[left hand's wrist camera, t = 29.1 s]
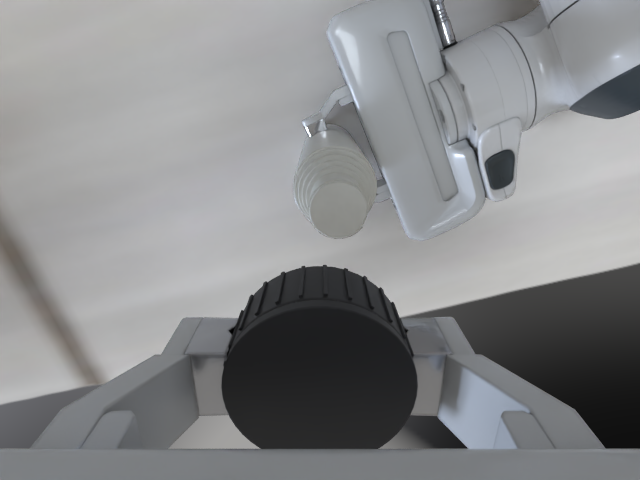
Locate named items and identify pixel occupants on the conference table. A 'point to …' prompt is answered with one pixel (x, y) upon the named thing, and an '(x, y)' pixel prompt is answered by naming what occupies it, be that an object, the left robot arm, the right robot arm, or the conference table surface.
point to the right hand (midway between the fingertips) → (321, 164)
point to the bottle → (334, 183)
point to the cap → (319, 364)
